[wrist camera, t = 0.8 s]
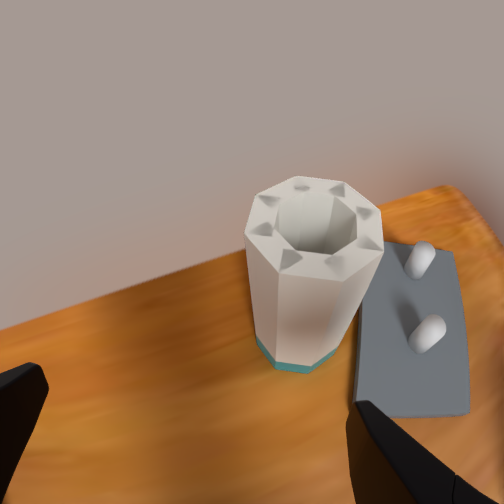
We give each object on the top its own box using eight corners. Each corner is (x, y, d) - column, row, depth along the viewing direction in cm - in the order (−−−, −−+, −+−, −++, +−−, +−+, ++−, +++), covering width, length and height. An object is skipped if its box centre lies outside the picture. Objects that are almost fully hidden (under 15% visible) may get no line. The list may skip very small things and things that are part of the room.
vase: (349, 342, 23) (407, 233, 13) (288, 386, 21) (307, 306, 11) (304, 290, 26) (321, 164, 16) (244, 327, 24) (223, 210, 14)
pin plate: (462, 415, 17) (491, 404, 14) (350, 416, 19) (366, 407, 16) (447, 258, 27) (464, 232, 24) (359, 246, 29) (369, 215, 25)
